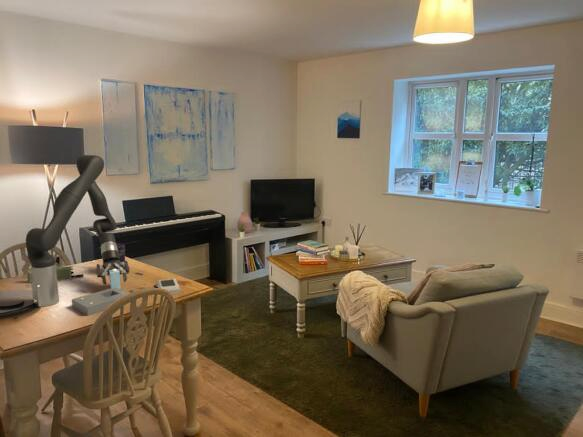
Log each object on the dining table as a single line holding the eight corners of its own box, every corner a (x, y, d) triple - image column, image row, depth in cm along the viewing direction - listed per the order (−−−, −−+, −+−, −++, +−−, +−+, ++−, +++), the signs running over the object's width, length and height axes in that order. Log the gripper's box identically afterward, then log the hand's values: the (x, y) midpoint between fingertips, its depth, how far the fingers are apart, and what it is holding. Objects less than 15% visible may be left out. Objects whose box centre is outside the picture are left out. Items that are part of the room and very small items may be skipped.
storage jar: (103, 273, 238) (100, 245, 235) (119, 268, 246) (117, 242, 243) (114, 276, 232) (112, 248, 230) (130, 271, 240) (128, 245, 238)
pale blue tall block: (111, 293, 209) (110, 271, 207) (110, 290, 212) (108, 268, 210) (120, 291, 211) (119, 269, 209) (119, 289, 214) (117, 267, 212)
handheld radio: (29, 282, 224) (83, 276, 233) (28, 284, 221) (83, 278, 230) (27, 269, 222) (82, 264, 231) (26, 271, 219) (82, 266, 228)
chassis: (87, 315, 184) (87, 306, 183) (72, 306, 192) (71, 298, 192) (132, 301, 199) (131, 293, 198) (116, 294, 208) (115, 286, 207)
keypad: (175, 276, 223) (179, 286, 209) (176, 283, 224) (180, 294, 210) (155, 278, 220) (158, 288, 206) (156, 286, 220) (159, 296, 207)
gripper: (94, 251, 211) (99, 281, 203) (126, 247, 218) (132, 276, 210) (93, 259, 216) (98, 288, 209) (124, 255, 223) (130, 283, 216)
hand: (115, 282), depth 210 cm, fingers open, 8 cm apart
